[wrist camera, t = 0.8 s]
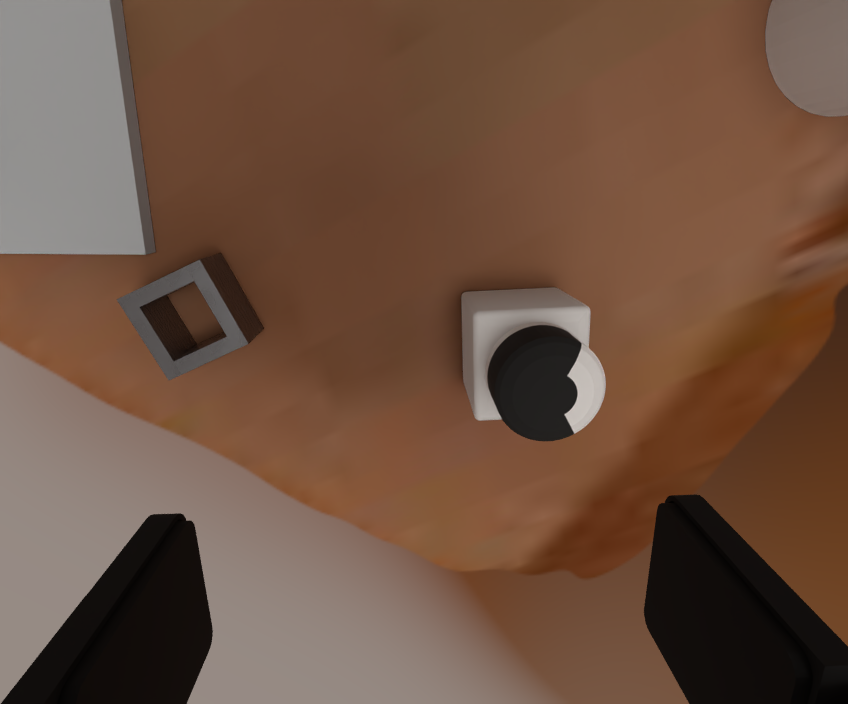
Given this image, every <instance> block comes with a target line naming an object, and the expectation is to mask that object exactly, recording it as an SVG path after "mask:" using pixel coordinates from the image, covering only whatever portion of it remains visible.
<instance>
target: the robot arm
mask: <svg viewBox="0 0 848 704" xmlns="http://www.w3.org/2000/svg"><path fill="white" fill-rule="evenodd" d="M204 583H205V582H204V577H203V571H202V565H201V560H200V554H199V548H198V542H197V536H196V530H195V526H194V524H193V522H192V521H186V518H185V517H184V515H183V514H154V515H150V516H149V517H148V518H147V519H146V520H145V522H144V523H143V524H142V525H141V527H140V528H139V529H138V531H137V532H136V533H135V534H134V536H133V537H132V538H131V539H130V541H129V542H128V543H127V545H126V546H125V547H124V548H123V550H122V551H121V552H120V553H119V555H118V556H117V557H116V559H115V560H114V561H113V562H112V564H111V565H110V566H109V568H108V569H107V570H106V571H105V573H104V574H103V575H102V576H101V578H100V579H99V580H98V581H97V583H96V584H95V585H94V587H93V588H92V589H91V590H90V592H89V593H88V594H87V595H86V596H85V597H84V599H83V600H82V601H81V602H80V604H79V605H78V606H77V607H76V609H75V610H74V611H73V613H72V614H71V615H70V616H69V618H68V619H67V620H66V621H65V623H64V624H63V625H62V627H61V628H60V629H59V630H58V632H57V633H56V634H55V635H54V637H53V638H52V639H51V641H50V642H49V643H48V644H47V646H46V647H45V648H44V649H43V651H42V652H41V653H40V655H39V656H38V657H37V658H36V660H35V661H34V662H33V663H32V665H31V666H30V667H29V668H28V670H27V671H26V672H25V674H24V675H23V676H22V678H21V679H20V680H19V681H18V683H17V684H16V685H15V686H14V688H13V689H12V690H11V691H10V693H9V694H8V695H7V697H6V698H5V699H4V700H3V702H2V703H1V704H187V701H188V699H189V697H190V694H191V692H192V689H193V687H194V685H195V682H196V680H197V678H198V675H199V673H200V671H201V668H202V666H203V663H204V661H205V659H206V656H207V654H208V652H209V649H210V646H211V642H212V632H213V631H212V623H211V618H210V611H209V606H208V600H207V594H206V588H205V584H204ZM644 616H645V621H646V625H647V628H648V630H649V632H650V634H651V635H652V637H653V639H654V641H655V643H656V644H657V646H658V648H659V650H660V652H661V653H662V655H663V657H664V659H665V661H666V662H667V664H668V666H669V668H670V670H671V671H672V673H673V675H674V677H675V679H676V680H677V682H678V684H679V686H680V688H681V689H682V691H683V693H684V695H685V697H686V698H687V700H688V702H689V704H848V646H847V645H846V644H845V643H844V642H843V641H842V640H841V639H840V638H839V637H838V636H837V635H836V634H835V633H834V632H833V631H832V630H831V629H830V628H829V627H828V626H827V625H826V624H825V623H824V622H823V621H822V620H821V618H819V616H818V615H817V614H816V613H815V612H814V611H813V610H812V609H811V608H810V607H809V606H808V605H807V604H806V603H805V602H804V601H803V600H802V599H801V598H800V597H799V596H798V595H797V594H796V593H795V592H794V591H793V590H792V589H791V588H790V587H789V586H788V585H787V584H786V582H785V581H784V580H783V579H782V578H781V577H780V576H779V575H778V574H777V573H776V572H775V571H774V570H773V569H772V568H771V567H770V566H769V565H768V564H767V563H766V562H765V561H764V560H763V559H762V558H761V557H760V556H759V555H758V554H757V553H756V552H755V551H754V550H753V549H752V548H751V547H750V546H749V545H748V544H747V542H746V541H745V540H744V539H743V538H742V537H741V536H740V535H739V534H738V533H737V532H736V531H735V530H734V529H733V528H732V527H731V526H730V525H729V524H728V523H727V522H726V521H725V520H724V519H723V518H722V517H721V516H720V515H719V514H718V513H717V512H716V511H715V510H714V509H713V507H712V506H710V505H709V503H707V501H706V500H705V499H704V498H703V497H701V496H700V495H672V496H669V497H667V499H666V501H665V503H661V504H659V506H658V509H657V516H656V523H655V531H654V538H653V546H652V554H651V561H650V569H649V576H648V584H647V591H646V599H645V607H644Z"/></svg>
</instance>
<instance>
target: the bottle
mask: <svg viewBox="0 0 848 704" xmlns="http://www.w3.org/2000/svg"><path fill="white" fill-rule="evenodd" d="M765 44H766V55H767V60H768V65H769V69H770V71H771V73H772V76H773V78H774V80H775V83H776V84H777V86H778V87H779V89H780V90H781V91H782V93H783V94H784V95H785V97H786V98H788V99H789V100H790V101H791V102H792V103H794V104H795V105H796V106H797V107H799V108H801V109H803V110H805V111H807V112H809V113H812V114H817V115H821V116H847V115H848V0H772V2H771V5H770V8H769V11H768V17H767V24H766V30H765Z"/></svg>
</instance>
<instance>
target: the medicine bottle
mask: <svg viewBox="0 0 848 704" xmlns="http://www.w3.org/2000/svg"><path fill="white" fill-rule="evenodd" d="M461 307H462V353H463V382H464V385H465V388H466V391H467V394H468V398H469V401H470V404H471V407H472V410H473V413H474V416H475V418H476V419H477V420H480V421H481V420H499V419H502V420H503V421H504V422H505V424H506V425H507V426H508V427H509V428H510V429H511V430H513V431H514V432H516V433H517V434H519V435H521V436H523V437H525V438H528V439H531V440H536V441H554V440H560V439H563V438H566V437H569V436H571V435H573V434H575V433H577V432H578V431H580V430H581V429H583V428H584V427H585V426H586V425H587V424H588V423H589V422H590V421H591V420H592V419H593V418H594V416H595V415H596V414H597V412H598V410H599V409H600V407H601V404H602V402H603V399H604V395H605V387H606V382H605V374H604V370H603V368H602V365H601V363H600V361H599V359H598V358H597V357H596V355H595V354H594V353H593V352H592V351H591V350H590V349H589V331H590V308H589V307H588V306H587V305H585V304H583V303H582V302H580V301H578V300H577V299H575V298H573V297H572V296H570V295H568V294H567V293H565V292H563V291H562V290H560V289H558V288H556V287H552V288H531V289H510V290H490V291H469V292H464V293H463V294H462V296H461Z"/></svg>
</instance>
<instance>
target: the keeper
mask: <svg viewBox="0 0 848 704" xmlns="http://www.w3.org/2000/svg"><path fill="white" fill-rule="evenodd" d="M154 252H156V250H155V242H154V235H153V228H152V220H151V213H150V206H149V198H148V191H147V184H146V176H145V169H144V161H143V154H142V147H141V139H140V132H139V125H138V117H137V110H136V103H135V95H134V88H133V81H132V73H131V66H130V58H129V51H128V44H127V36H126V29H125V22H124V14H123V7H122V0H0V254H138V255H146V254H150V253H154Z"/></svg>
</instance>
